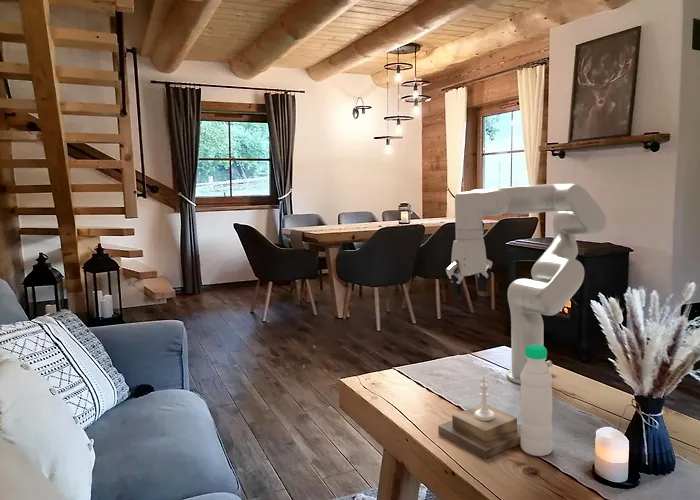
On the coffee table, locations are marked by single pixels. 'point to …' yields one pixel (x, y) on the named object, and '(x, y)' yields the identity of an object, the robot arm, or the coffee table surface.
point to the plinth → (478, 444)
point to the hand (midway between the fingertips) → (470, 293)
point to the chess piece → (484, 404)
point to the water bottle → (536, 403)
